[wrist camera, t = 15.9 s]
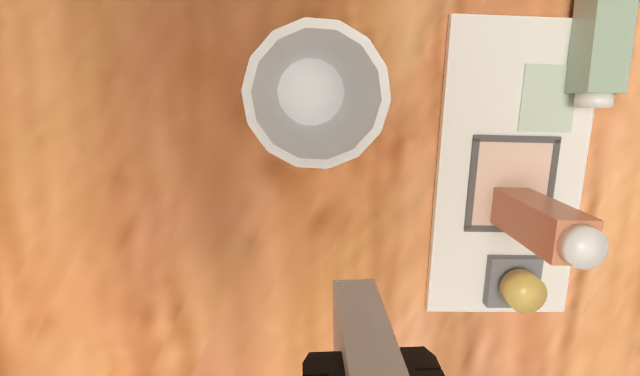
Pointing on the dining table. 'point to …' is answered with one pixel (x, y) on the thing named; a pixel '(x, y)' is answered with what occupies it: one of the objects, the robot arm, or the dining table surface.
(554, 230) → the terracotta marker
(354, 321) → the robot arm
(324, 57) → the foam cup
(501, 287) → the button
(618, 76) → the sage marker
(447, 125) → the white flat panel
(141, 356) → the dining table surface
